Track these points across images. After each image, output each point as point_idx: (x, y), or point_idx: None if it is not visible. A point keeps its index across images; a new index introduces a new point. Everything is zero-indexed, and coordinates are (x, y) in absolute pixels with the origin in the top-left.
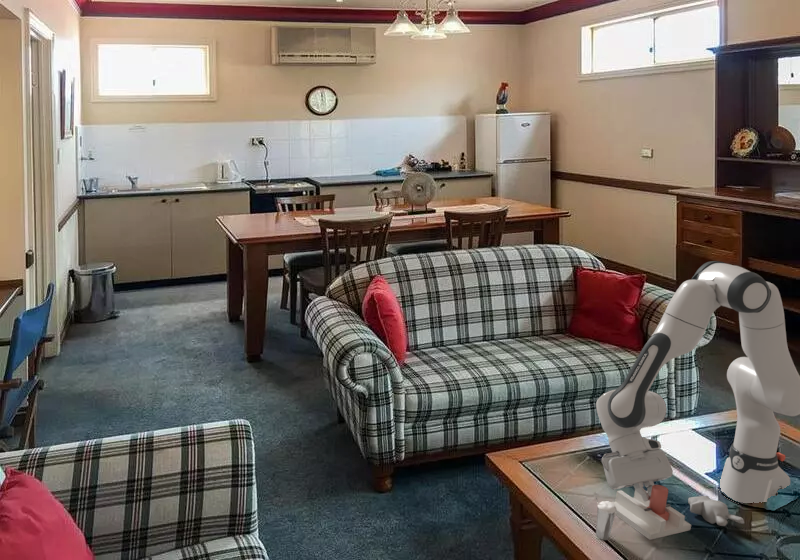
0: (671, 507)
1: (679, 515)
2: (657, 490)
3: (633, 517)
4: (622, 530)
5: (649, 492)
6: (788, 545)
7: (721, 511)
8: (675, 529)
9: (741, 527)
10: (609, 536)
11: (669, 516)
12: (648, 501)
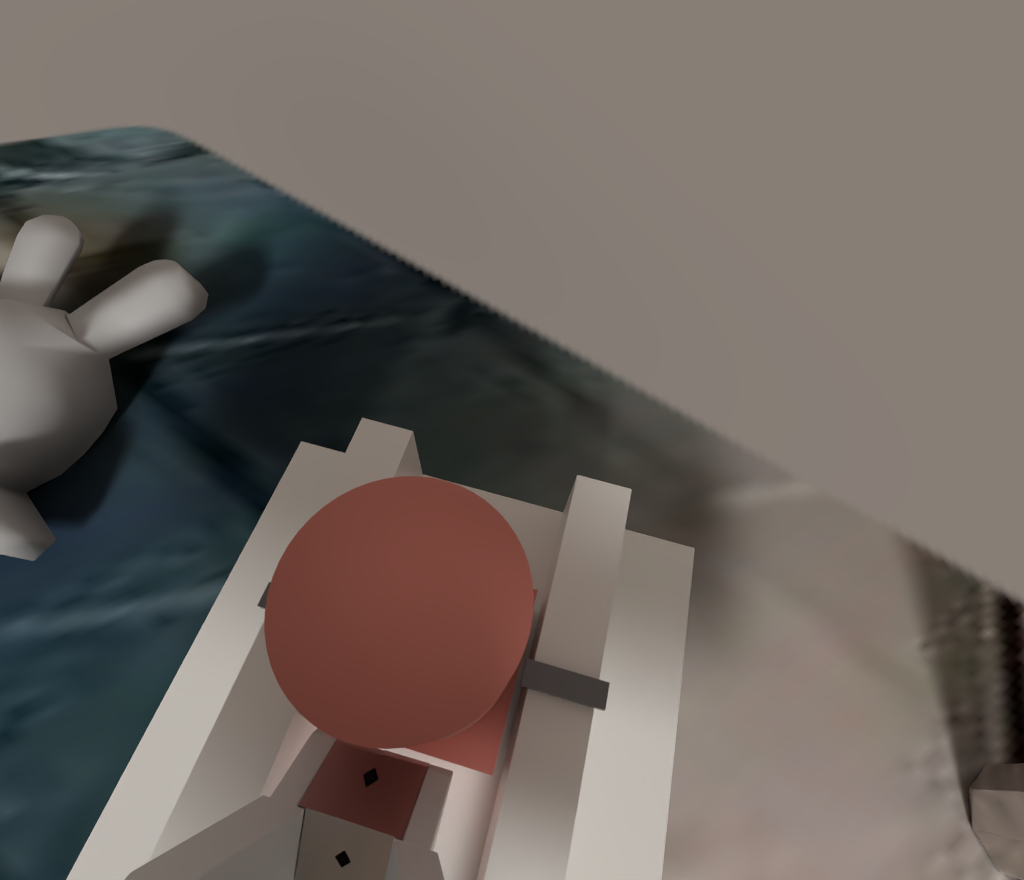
0: None
1: (391, 447)
2: (512, 587)
3: (604, 807)
4: (778, 777)
5: (290, 856)
6: (88, 143)
7: (25, 310)
8: None
9: None
10: (1004, 764)
11: None
12: None
